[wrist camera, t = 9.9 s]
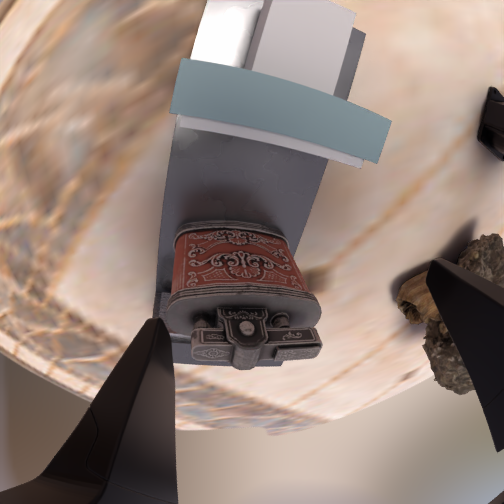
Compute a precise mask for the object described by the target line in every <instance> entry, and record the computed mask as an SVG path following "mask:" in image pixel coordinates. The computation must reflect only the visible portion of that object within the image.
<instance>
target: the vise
mask: <svg viewBox="0 0 504 504" xmlns="http://www.w3.org/2000/svg"><path fill="white" fill-rule="evenodd" d="M263 3H264V0H208V1H207V4H206V7H205V11H204V14H203V17H202V20H201V23H200V27H199V30H198V33H197V37H196V40H195V44H194V47H193V51H192V55H191V59H193V60H200V61H206V62H212V63H217V64H223V65H228V66H233V67H238V68H242V69H244V67H245V63H246V60H247V56H248V53H249V49H250V46H251V42H252V39H253V36H254V32H255V29H256V26H257V22H258V19H259V16H260V13H261V9H262V6H263ZM365 36H366V34H365V33H363V32H361V31H359V30H357V29H355V28H353V27H352V31H351V35H350V38H349V42H348V45H347V49H346V53H345V56H344V60H343V63H342V67H341V70H340V73H339V77H338V80H337V84H336V87H335V90H334V94H333V96H335V97H338V98H341V99H343V100H346V101H347V99H348V96H349V92H350V89H351V86H352V82H353V79H354V75H355V72H356V68H357V65H358V61H359V58H360V54H361V51H362V47H363V43H364V40H365ZM181 117H182V115H180V114H178V115H177V120H176V125H175V130H174V136H173V141H172V147H171V153H170V159H169V166H168V172H167V179H166V186H165V194H164V202H163V210H162V219H161V229H160V239H159V251H158V264H157V280H156V294H155V301H154V309H153V317H152V318H156V317H160V318H162V319H163V321H164V323H165V325H166V328H167V330H168V332H169V334H170V336H171V342H172V355H173V363H181V364H195V365H213V366H232V365H231V364H230V363H228V362H227V361H198V360H195V359H193V358H192V355H191V336H185V335H181V334H178V333H176V332H175V331H173V330H172V329H171V328H170V326H169V325H168V324H167V320H166V310H167V303H168V300H169V298H170V297H171V290H172V278H173V268H174V258H175V252H174V247H173V244H174V238H175V233H176V232H177V230H178V228H180V227H181V226H182V225H184V224H187V223H194V222H204V221H239V222H246V223H253V224H259V225H263V226H266V227H270V228H274V229H277V230H279V231H281V232H282V233H283V234H284V235H285V237H286V239H287V241H288V244H289V251H290V253H291V255H292V257H294V254H295V252H296V249H297V246H298V244H299V241H300V238H301V235H302V233H303V230H304V227H305V225H306V222H307V219H308V216H309V213H310V211H311V208H312V205H313V202H314V199H315V197H316V194H317V191H318V188H319V185H320V182H321V179H322V176H323V173H324V170H325V167H326V165H327V162H328V158H324V157H321V156H317V155H313V154H310V153H306V152H302V151H299V150H295V149H291V148H287V147H283V146H279V145H274V144H270V143H266V142H261V141H257V140H252V139H247V138H242V137H237V136H232V135H227V134H221V133H216V132H210V131H204V130H198V129H191V128H184V127H180V121H181ZM282 363H283V361H274V360H260V361H259V362H257V364H256V366H281V365H282Z"/></svg>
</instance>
